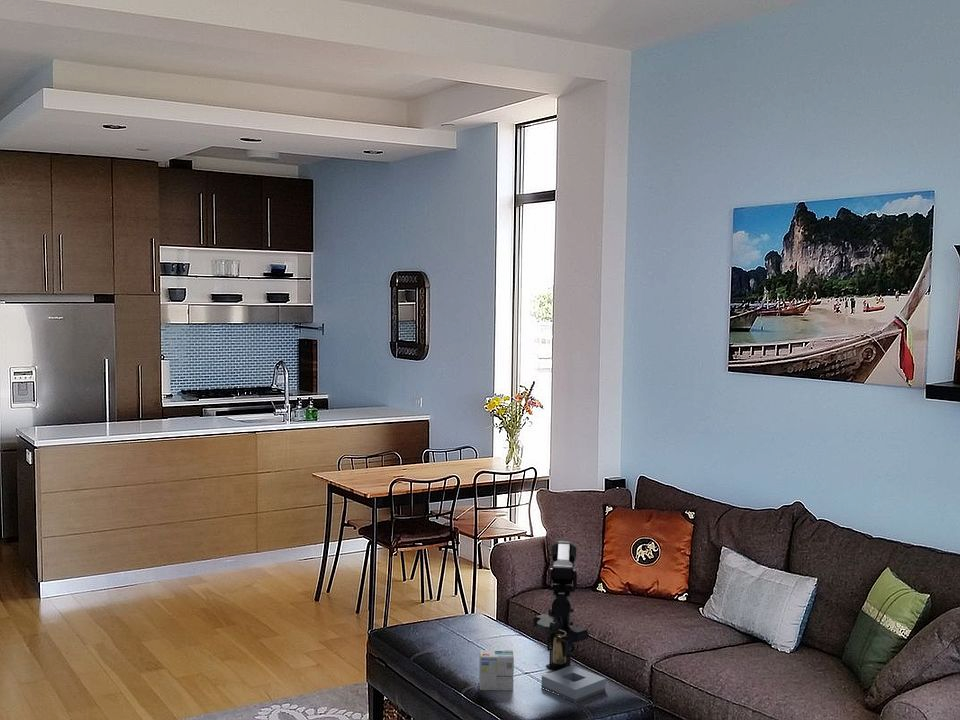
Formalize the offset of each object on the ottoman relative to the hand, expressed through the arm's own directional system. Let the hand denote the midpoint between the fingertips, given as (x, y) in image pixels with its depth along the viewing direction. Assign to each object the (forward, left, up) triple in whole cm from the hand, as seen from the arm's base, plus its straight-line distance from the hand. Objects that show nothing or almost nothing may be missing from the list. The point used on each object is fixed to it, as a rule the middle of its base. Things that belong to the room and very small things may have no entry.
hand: (559, 654), depth 318 cm
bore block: (+2, +5, -12) cm, 13 cm away
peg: (0, 0, -2) cm, 2 cm away
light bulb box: (-15, -12, -12) cm, 23 cm away
